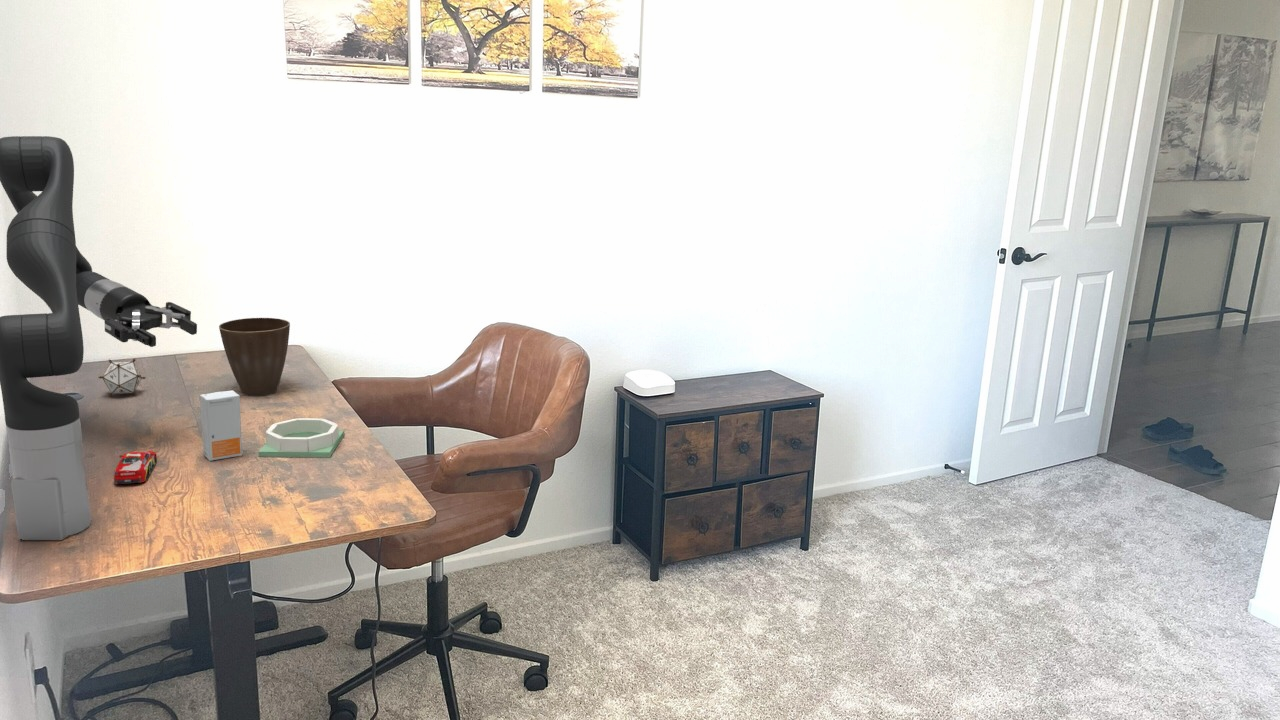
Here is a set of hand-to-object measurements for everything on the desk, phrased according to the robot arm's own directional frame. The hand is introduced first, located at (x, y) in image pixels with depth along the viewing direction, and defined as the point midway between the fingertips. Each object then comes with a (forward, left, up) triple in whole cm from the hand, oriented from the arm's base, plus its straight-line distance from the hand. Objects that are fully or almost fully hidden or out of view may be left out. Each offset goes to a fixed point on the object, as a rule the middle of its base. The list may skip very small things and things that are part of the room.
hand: (175, 335), depth 169 cm
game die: (+34, +26, -22) cm, 48 cm away
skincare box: (-4, -8, -22) cm, 24 cm away
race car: (-13, +3, -23) cm, 26 cm away
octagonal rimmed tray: (+2, -21, -22) cm, 31 cm away
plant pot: (+38, -2, -22) cm, 44 cm away
